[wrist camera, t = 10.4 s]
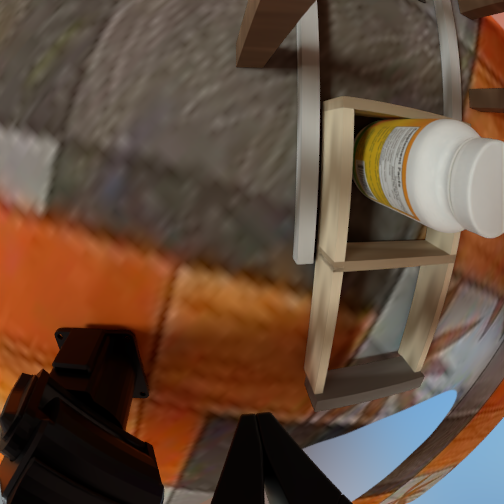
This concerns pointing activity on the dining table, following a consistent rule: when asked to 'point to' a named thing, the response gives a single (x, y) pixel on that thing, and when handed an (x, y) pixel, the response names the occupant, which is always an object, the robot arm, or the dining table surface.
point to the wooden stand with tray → (308, 69)
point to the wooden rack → (367, 258)
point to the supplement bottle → (433, 173)
